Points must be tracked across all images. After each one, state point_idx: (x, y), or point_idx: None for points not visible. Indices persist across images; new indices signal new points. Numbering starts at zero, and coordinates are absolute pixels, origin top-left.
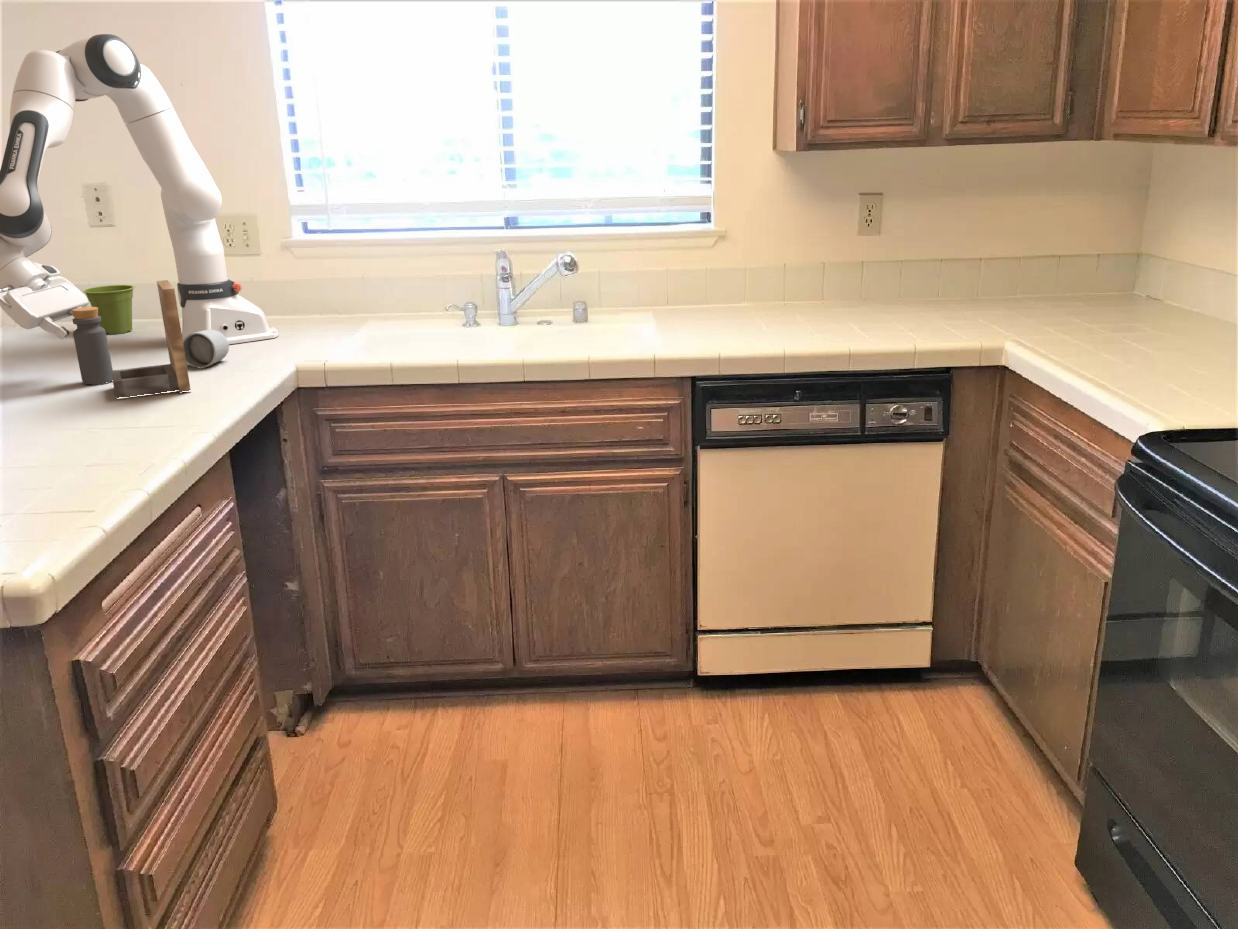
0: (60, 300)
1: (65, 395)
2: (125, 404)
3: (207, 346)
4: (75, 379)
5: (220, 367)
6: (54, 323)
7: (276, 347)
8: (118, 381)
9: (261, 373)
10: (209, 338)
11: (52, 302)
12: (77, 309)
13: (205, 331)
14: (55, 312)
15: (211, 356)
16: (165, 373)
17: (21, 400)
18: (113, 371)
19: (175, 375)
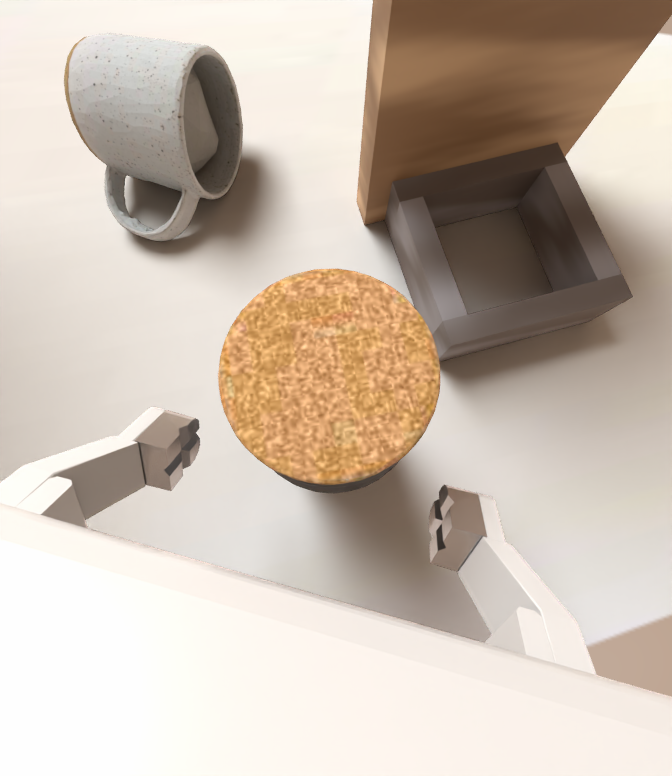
0: (121, 688)
1: (501, 488)
2: (644, 287)
3: (200, 98)
4: (263, 523)
5: (245, 132)
6: (522, 580)
7: (23, 33)
8: (625, 284)
9: (360, 38)
10: (214, 50)
11: (309, 752)
12: (360, 425)
13: (148, 46)
14: (427, 626)
15: (213, 124)
16: (458, 198)
17: None
18: (467, 333)
19: (556, 147)
